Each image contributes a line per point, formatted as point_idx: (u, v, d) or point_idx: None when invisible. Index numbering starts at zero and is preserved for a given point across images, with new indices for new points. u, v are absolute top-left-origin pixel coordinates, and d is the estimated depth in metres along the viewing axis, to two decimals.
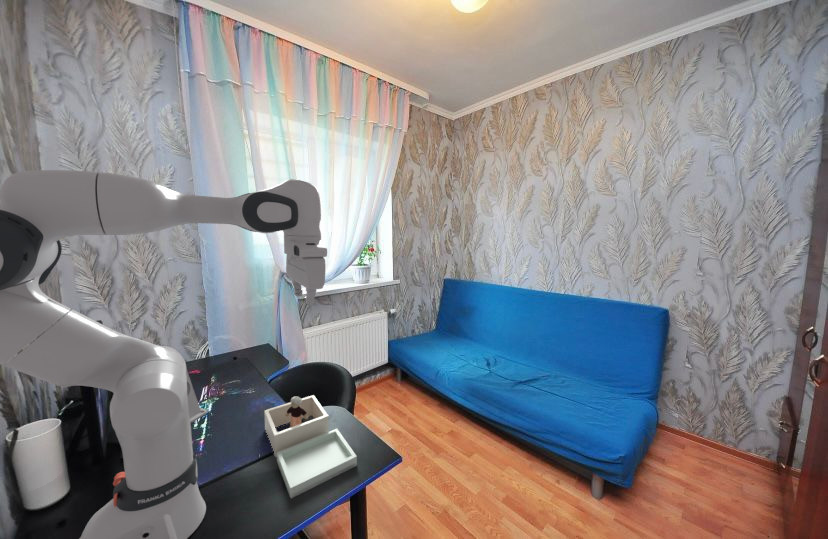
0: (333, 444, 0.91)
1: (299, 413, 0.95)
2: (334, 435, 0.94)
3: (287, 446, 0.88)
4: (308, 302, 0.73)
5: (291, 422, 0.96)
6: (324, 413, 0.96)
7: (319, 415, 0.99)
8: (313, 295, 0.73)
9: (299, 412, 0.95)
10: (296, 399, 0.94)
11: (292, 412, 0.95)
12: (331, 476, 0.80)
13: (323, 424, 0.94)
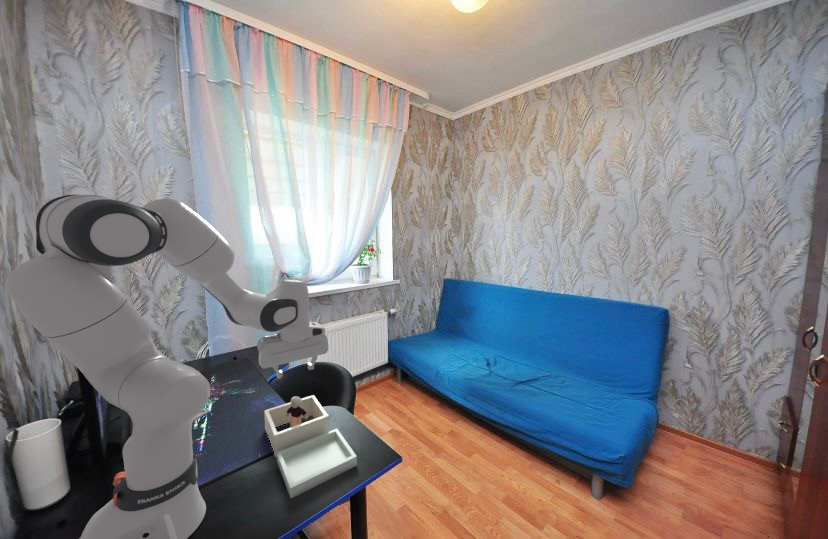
0: (333, 444, 0.91)
1: (299, 413, 0.95)
2: (334, 435, 0.94)
3: (287, 446, 0.88)
4: None
5: (291, 422, 0.96)
6: (324, 413, 0.96)
7: (319, 415, 0.99)
8: None
9: (299, 412, 0.95)
10: (296, 399, 0.94)
11: (292, 412, 0.95)
12: (331, 476, 0.80)
13: (323, 424, 0.94)
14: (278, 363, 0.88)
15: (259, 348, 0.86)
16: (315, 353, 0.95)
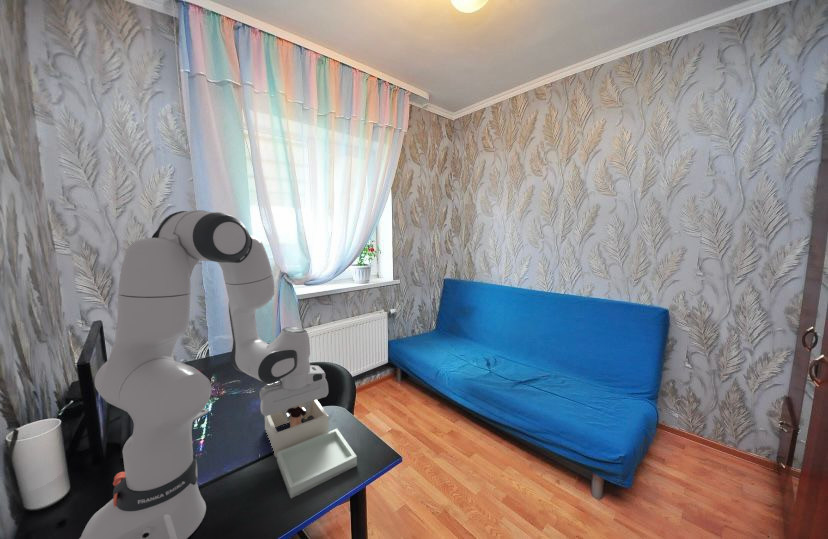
0: (333, 444, 0.91)
1: (299, 413, 0.95)
2: (334, 435, 0.94)
3: (287, 446, 0.88)
4: None
5: (291, 422, 0.96)
6: (324, 413, 0.96)
7: (319, 415, 0.99)
8: None
9: (299, 412, 0.95)
10: None
11: (291, 412, 0.95)
12: (331, 476, 0.80)
13: (323, 424, 0.94)
14: (279, 410, 0.90)
15: (261, 396, 0.88)
16: (315, 397, 0.97)
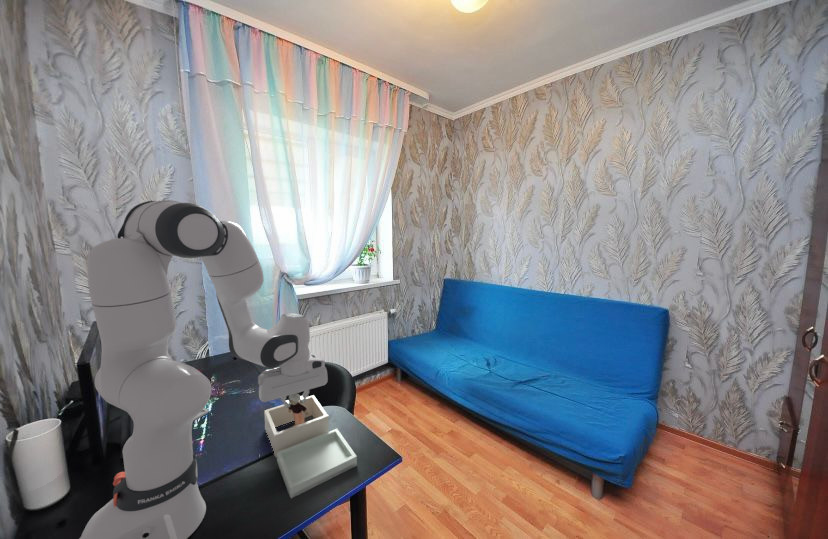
0: (333, 444, 0.91)
1: (299, 409, 0.95)
2: (334, 435, 0.94)
3: (287, 446, 0.88)
4: None
5: (294, 417, 0.97)
6: (324, 413, 0.96)
7: (319, 415, 0.99)
8: None
9: (299, 408, 0.94)
10: (293, 396, 0.93)
11: (292, 408, 0.95)
12: (331, 476, 0.80)
13: (323, 424, 0.94)
14: (278, 396, 0.89)
15: (260, 382, 0.87)
16: (314, 385, 0.96)
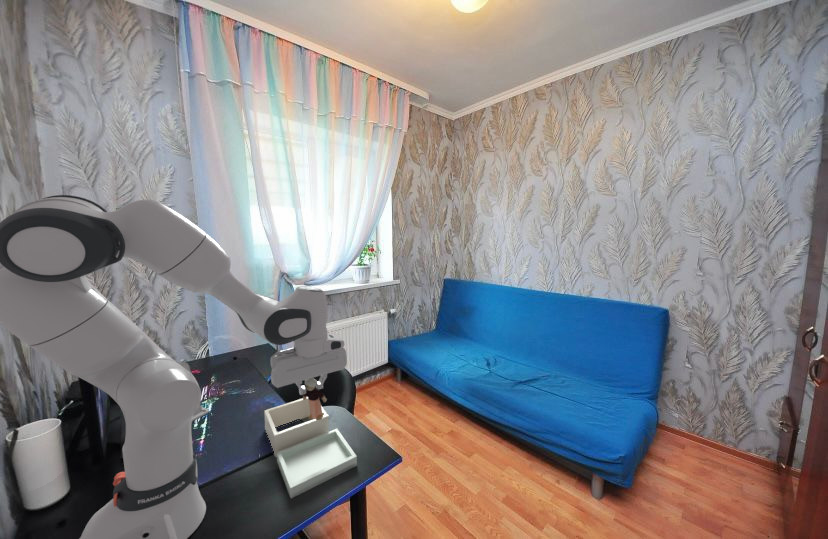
0: (333, 444, 0.91)
1: (316, 396, 0.84)
2: (334, 435, 0.94)
3: (287, 446, 0.88)
4: None
5: (310, 406, 0.86)
6: (324, 413, 0.96)
7: None
8: None
9: (316, 395, 0.84)
10: (310, 381, 0.82)
11: (308, 395, 0.84)
12: (331, 476, 0.80)
13: (323, 424, 0.94)
14: (293, 381, 0.79)
15: (272, 364, 0.76)
16: (333, 369, 0.85)
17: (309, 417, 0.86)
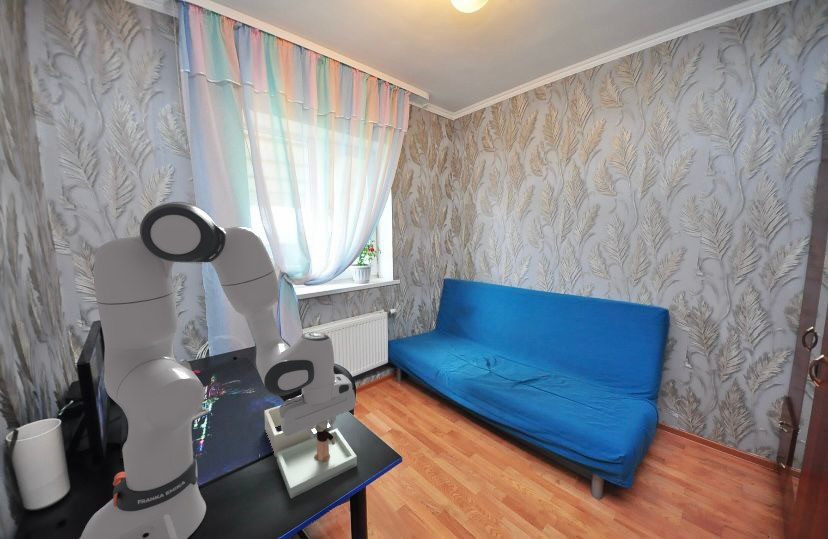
0: None
1: (325, 437, 0.84)
2: (334, 435, 0.94)
3: (287, 446, 0.88)
4: None
5: (317, 446, 0.85)
6: None
7: None
8: None
9: (325, 436, 0.83)
10: (321, 422, 0.82)
11: (317, 435, 0.83)
12: (331, 476, 0.80)
13: None
14: (303, 428, 0.79)
15: (281, 414, 0.76)
16: (342, 410, 0.85)
17: (315, 457, 0.85)
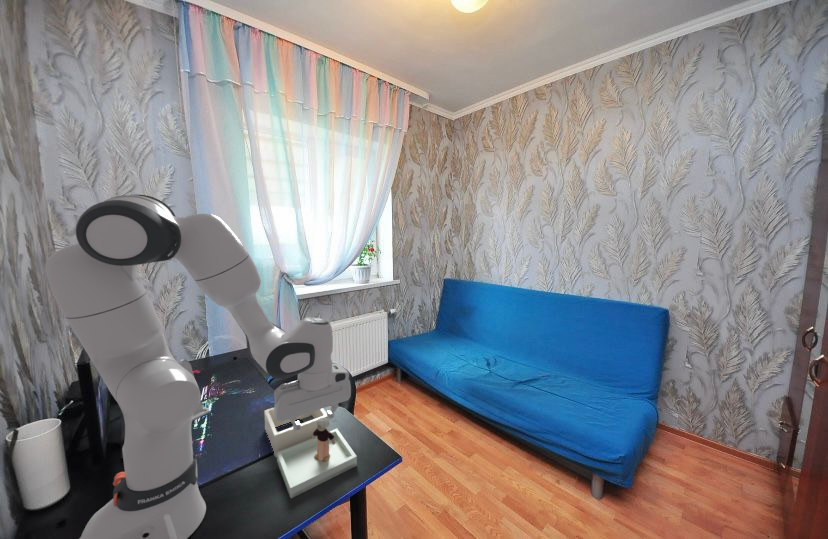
0: (333, 444, 0.91)
1: (326, 437, 0.84)
2: (334, 435, 0.94)
3: (287, 446, 0.88)
4: None
5: (318, 445, 0.85)
6: (324, 413, 0.96)
7: (319, 415, 0.99)
8: None
9: (326, 436, 0.84)
10: (322, 421, 0.83)
11: (318, 435, 0.84)
12: (331, 476, 0.80)
13: None
14: (296, 415, 0.77)
15: (276, 398, 0.75)
16: (336, 401, 0.84)
17: (315, 457, 0.85)
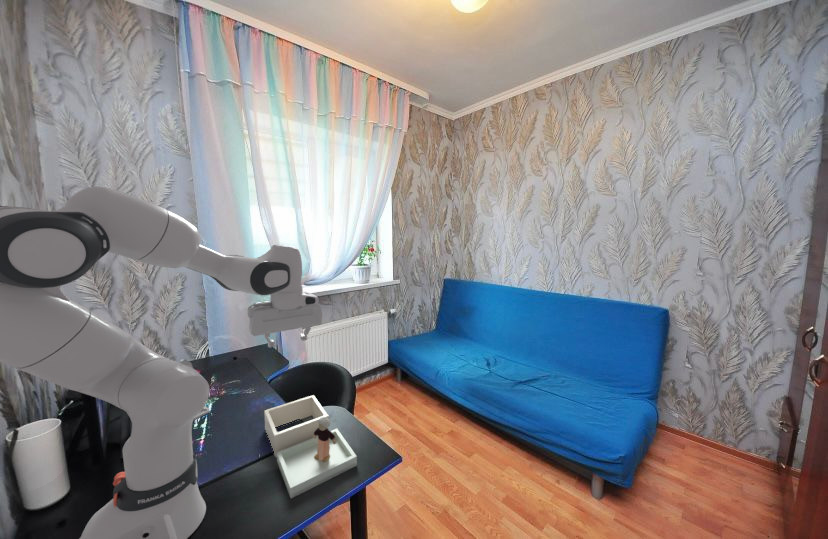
0: (333, 444, 0.91)
1: (327, 436, 0.84)
2: (334, 435, 0.94)
3: (287, 446, 0.88)
4: None
5: (318, 445, 0.85)
6: (324, 413, 0.96)
7: (319, 415, 0.99)
8: None
9: (327, 435, 0.84)
10: (324, 421, 0.83)
11: (319, 434, 0.84)
12: (331, 476, 0.80)
13: None
14: (269, 331, 0.85)
15: (250, 314, 0.83)
16: (308, 323, 0.92)
17: (315, 457, 0.85)
